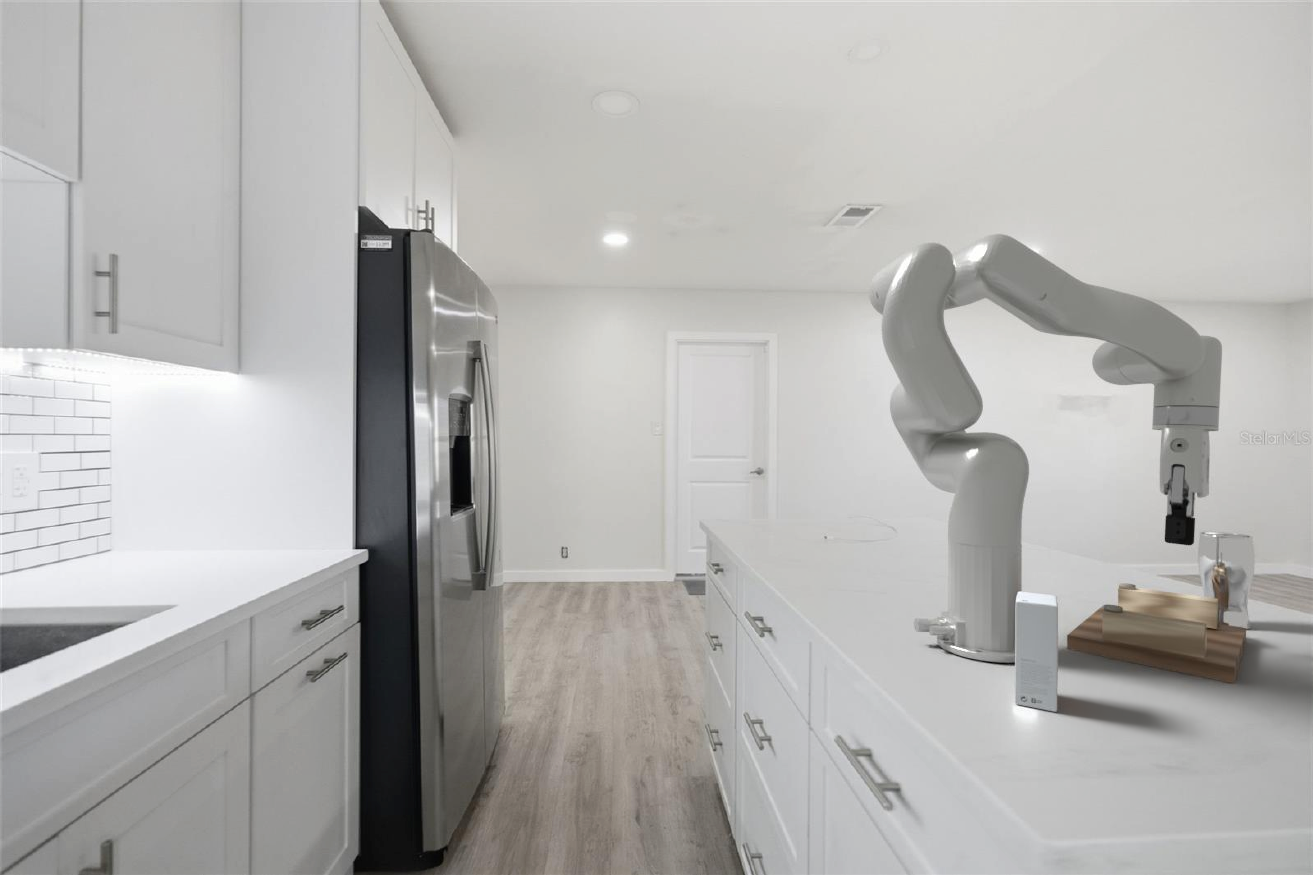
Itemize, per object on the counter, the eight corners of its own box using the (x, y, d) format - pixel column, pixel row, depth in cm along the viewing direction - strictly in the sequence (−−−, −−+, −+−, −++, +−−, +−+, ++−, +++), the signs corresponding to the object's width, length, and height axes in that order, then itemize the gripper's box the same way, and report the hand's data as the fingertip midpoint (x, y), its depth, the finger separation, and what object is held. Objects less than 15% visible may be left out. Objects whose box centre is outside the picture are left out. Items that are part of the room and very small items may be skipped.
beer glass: (1265, 632, 99) (1265, 538, 100) (1215, 629, 101) (1215, 536, 101) (1235, 619, 106) (1235, 532, 106) (1188, 617, 108) (1188, 530, 108)
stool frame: (1234, 683, 78) (1234, 630, 78) (1067, 648, 91) (1067, 603, 91) (1246, 641, 95) (1245, 597, 95) (1103, 617, 108) (1103, 578, 108)
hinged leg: (1117, 613, 102) (1117, 585, 102) (1120, 609, 104) (1120, 582, 104) (1216, 629, 93) (1216, 598, 93) (1217, 624, 95) (1217, 594, 95)
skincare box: (1058, 713, 69) (1058, 606, 69) (1014, 705, 72) (1014, 600, 72) (1057, 695, 74) (1057, 594, 75) (1016, 687, 77) (1016, 590, 77)
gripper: (1213, 417, 84) (1207, 552, 84) (1223, 423, 95) (1217, 543, 95) (1144, 416, 90) (1138, 543, 90) (1160, 423, 100) (1155, 536, 100)
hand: (1179, 543), depth 92 cm, fingers closed
